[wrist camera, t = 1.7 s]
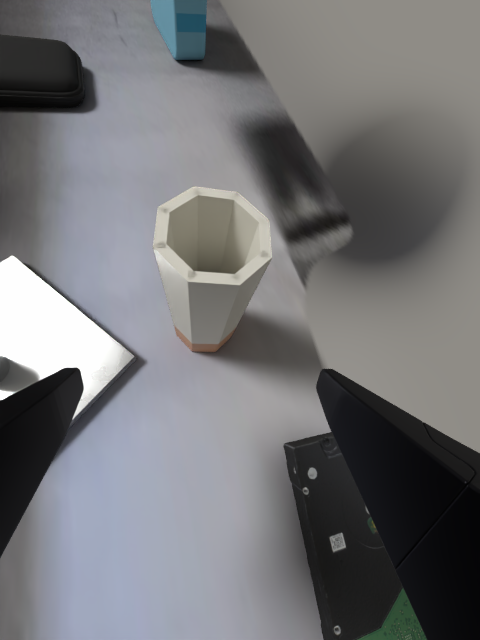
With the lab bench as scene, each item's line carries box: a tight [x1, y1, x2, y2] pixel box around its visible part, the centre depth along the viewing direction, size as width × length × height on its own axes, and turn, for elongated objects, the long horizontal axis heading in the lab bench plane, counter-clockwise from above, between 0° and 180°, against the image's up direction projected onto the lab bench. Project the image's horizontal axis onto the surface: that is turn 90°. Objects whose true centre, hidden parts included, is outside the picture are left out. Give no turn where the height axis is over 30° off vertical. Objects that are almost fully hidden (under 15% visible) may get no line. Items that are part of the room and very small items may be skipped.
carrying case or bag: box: [0, 35, 85, 108], centre depth 28 cm, size 11×3×15 cm
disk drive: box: [284, 432, 427, 640], centre depth 18 cm, size 10×3×15 cm
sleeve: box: [153, 186, 272, 352], centre depth 16 cm, size 5×5×13 cm
